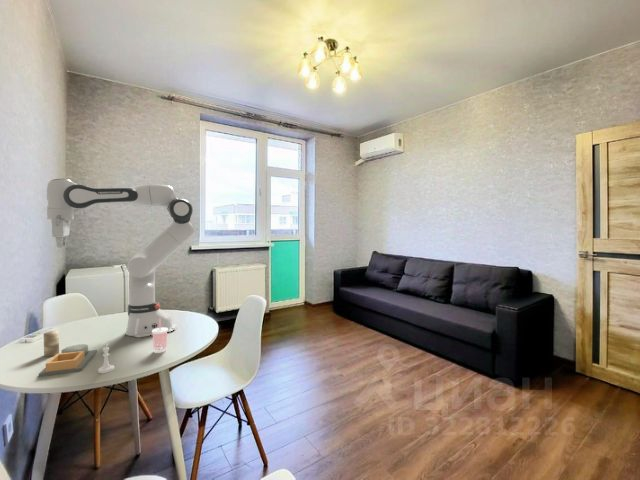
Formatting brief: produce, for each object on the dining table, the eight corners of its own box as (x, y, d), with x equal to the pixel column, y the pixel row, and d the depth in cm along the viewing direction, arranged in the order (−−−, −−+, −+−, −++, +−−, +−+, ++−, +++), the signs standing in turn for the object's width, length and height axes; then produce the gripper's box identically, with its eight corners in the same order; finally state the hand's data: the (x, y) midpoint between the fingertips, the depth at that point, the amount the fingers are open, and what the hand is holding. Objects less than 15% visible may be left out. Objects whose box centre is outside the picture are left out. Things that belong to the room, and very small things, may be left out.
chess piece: (103, 367, 108) (103, 340, 108) (117, 366, 108) (117, 340, 108) (94, 373, 103) (94, 345, 103) (109, 373, 104) (108, 345, 103)
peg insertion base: (96, 352, 121) (96, 342, 121) (81, 370, 105) (81, 359, 105) (60, 356, 116) (60, 346, 116) (38, 376, 100) (38, 365, 100)
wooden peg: (61, 351, 121) (60, 330, 120) (56, 355, 117) (55, 333, 116) (47, 353, 119) (46, 331, 119) (41, 357, 115) (41, 335, 115)
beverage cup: (165, 353, 121) (165, 319, 120) (149, 354, 120) (149, 320, 119) (170, 347, 127) (170, 315, 126) (155, 348, 126) (155, 316, 125)
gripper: (67, 215, 122) (67, 248, 123) (72, 216, 139) (73, 245, 140) (46, 214, 119) (47, 248, 119) (55, 216, 135) (55, 245, 136)
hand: (61, 246), depth 130 cm, fingers open, 8 cm apart
